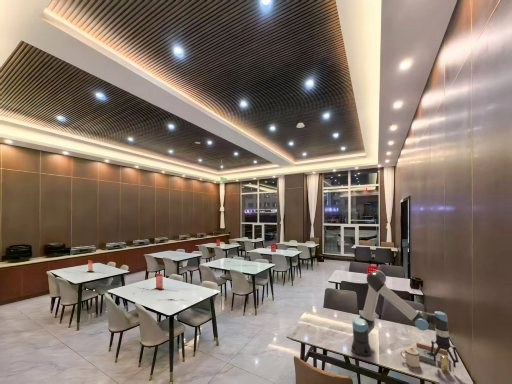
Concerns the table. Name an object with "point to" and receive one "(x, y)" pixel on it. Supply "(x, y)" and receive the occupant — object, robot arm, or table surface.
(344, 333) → the table surface
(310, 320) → the table surface
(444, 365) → the brass cylinder
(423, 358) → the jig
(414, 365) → the teacup with lid
